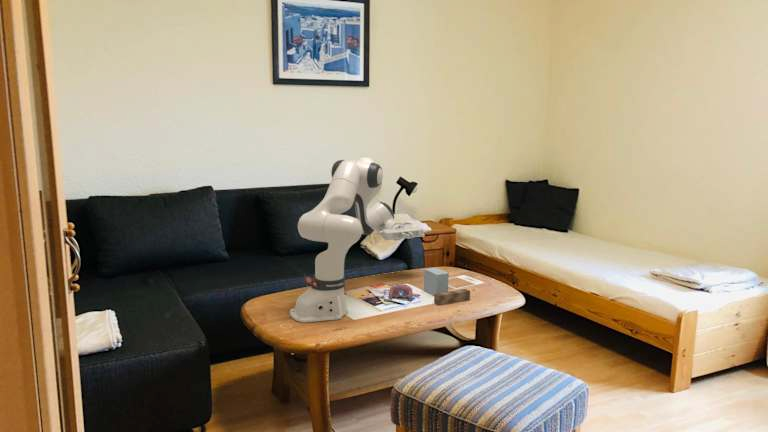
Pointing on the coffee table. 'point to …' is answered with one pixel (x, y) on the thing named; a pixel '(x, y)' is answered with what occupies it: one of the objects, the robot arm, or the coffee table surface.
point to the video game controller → (400, 287)
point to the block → (435, 281)
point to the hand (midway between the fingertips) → (410, 236)
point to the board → (451, 297)
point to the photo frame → (468, 279)
